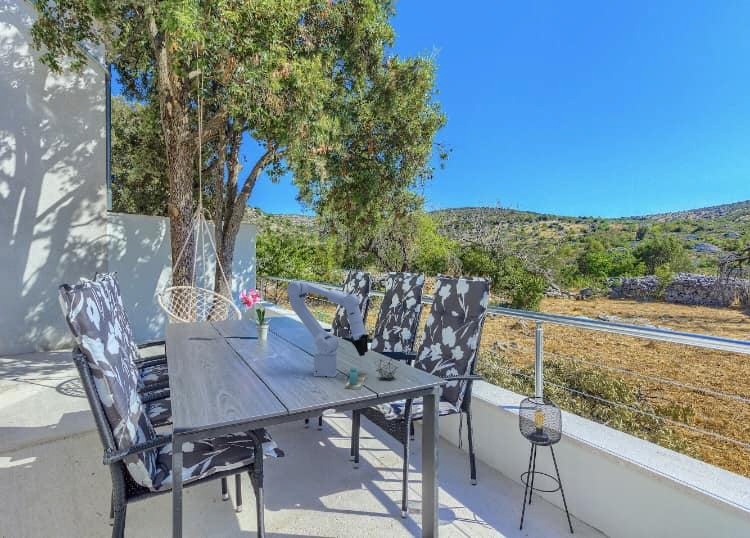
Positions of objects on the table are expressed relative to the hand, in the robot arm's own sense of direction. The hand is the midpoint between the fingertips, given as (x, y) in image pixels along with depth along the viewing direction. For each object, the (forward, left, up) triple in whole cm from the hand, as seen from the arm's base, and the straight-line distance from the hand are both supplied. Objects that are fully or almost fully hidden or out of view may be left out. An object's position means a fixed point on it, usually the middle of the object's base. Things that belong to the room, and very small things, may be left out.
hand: (364, 353), depth 169 cm
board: (-2, -7, -10) cm, 13 cm away
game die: (+10, 0, -10) cm, 14 cm away
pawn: (-2, -14, -9) cm, 17 cm away
